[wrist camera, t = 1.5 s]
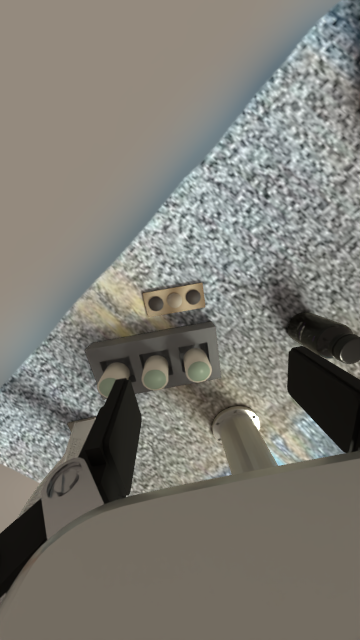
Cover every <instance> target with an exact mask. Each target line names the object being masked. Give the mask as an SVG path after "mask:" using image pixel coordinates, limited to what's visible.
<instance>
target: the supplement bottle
mask: <svg viewBox="0 0 360 640" xmlns="http://www.w3.org/2000/svg"><path fill="white" fill-rule="evenodd" d="M287 330H288V334H289V336H290V337H291V338H292V339H293V340H295V341H297V342H298V343H300V344H301V345H303V346H305V347H306V348H308V349H310V350H311V351H313V352H315V353H316V354H318V355H320V356H321V357H324V358H335V359H337V360H339V361H341V362H343V363H346V364H351V363H352V364H353V363H356V362H358V361H359V360H360V337H358V336H357V335H355V334H353V332H352V331H351V329H350V328H349V327H347V326H346V325H344V324H341V323H338V322H335V321H332V320H330V319H327V318H324V317H321V316H318V315H315V314H312V313H309V312H303V313H299V314H297V315H296V316H294V317H293V318H292V319H291V320H290V322H289V324H288V329H287Z"/></svg>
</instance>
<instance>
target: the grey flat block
mask: <svg viewBox="0 0 360 640" xmlns="http://www.w3.org/2000/svg"><path fill="white" fill-rule="evenodd" d="M192 348H199V349H202V350H203V351H204V352H205V353H206V356H207V358H208V360H209V362H210V365H211V367H212V373H211V375H210V377H209V378H208V379H207V380H213V379H218V378H221V370H220V362H219V353H218V344H217V335H216V327H215V325H214V324H213V323H212V321H210V322H205V323H199V324H194V325H188V326H183V327H177V328H172V329H166V330H161V331H155V332H150V333H144V334H138V335H133V336H127V337H122V338H116V339H111V340H105V341H100V342H94V343H91V344H90V345H89V346H88V347H87V348H86V349H85V353H86V356H87V358H88V361H89V364H90V366H91V369H92V372H93V374H94V377H95V380H96V383H97V384H98V382H99V380H100V378H101V377H102V375H103V373H104V372H105V370H106V368H107V367H108V366H109V365H110V364H112V363H115V362H119V363H123V364H125V365H126V366H127V367H128V368H129V371H130V376H129V379H128V380H131V383H132V386H133V390H134V393H135V394H137V393H143V392H148V391H153V390H150V389H147V388H146V387H145V386H144V385H143V383H142V374H143V370H144V365H145V362H146V360H147V359H148V358H149V357H151V356H154V355H159V356H162V357H164V358H165V359H166V360H167V362H168V383H167V385H166V386H165V387H164V388H170V387H175V386H180V385H186V384H191V383H197V382H192V381H190V380H189V379H188V378H187V376H186V373H185V367H184V360H183V358H184V355H185V353H186V352H187V351H188V350H190V349H192ZM207 380H205V381H207ZM164 388H162V389H164ZM101 396H102V395H101ZM102 399H103V400H105V399H107V398H106V397H104V396H102Z"/></svg>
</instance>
